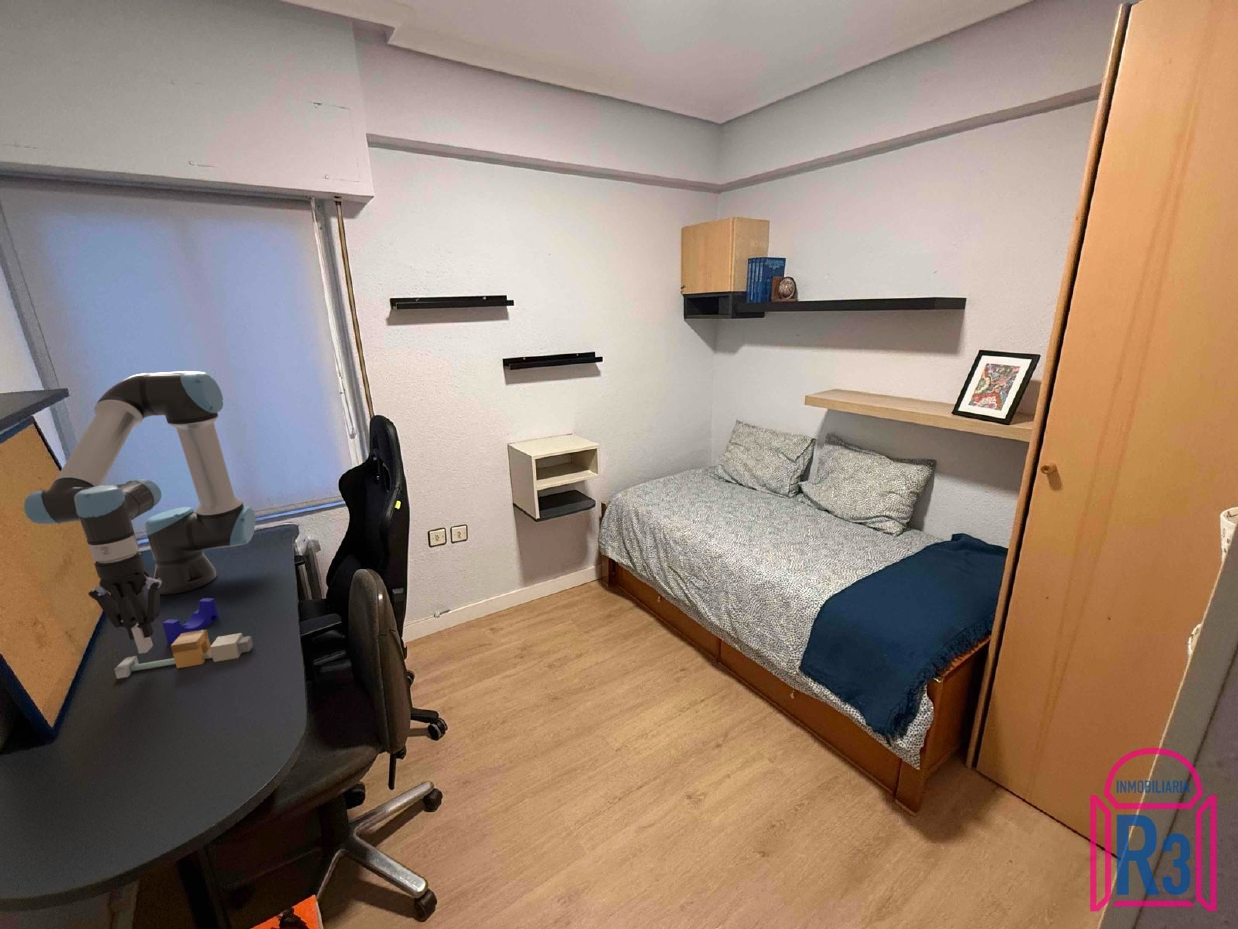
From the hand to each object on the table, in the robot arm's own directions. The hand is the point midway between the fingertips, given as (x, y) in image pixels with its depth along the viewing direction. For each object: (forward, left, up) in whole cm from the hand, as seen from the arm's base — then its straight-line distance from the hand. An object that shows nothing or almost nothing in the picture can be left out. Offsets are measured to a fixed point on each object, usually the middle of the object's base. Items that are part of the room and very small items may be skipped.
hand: (146, 649), depth 122 cm
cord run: (0, +8, -5) cm, 9 cm away
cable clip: (-16, +2, -5) cm, 16 cm away
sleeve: (0, +9, -5) cm, 10 cm away
